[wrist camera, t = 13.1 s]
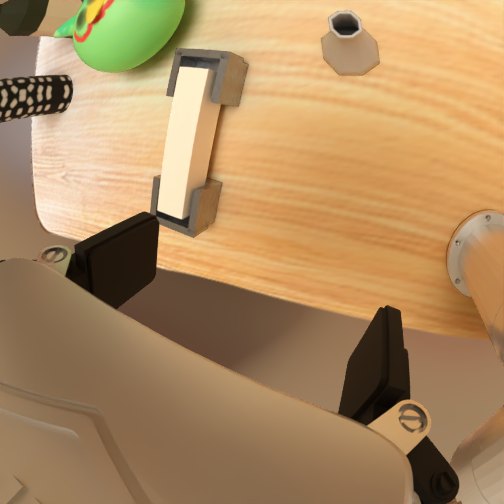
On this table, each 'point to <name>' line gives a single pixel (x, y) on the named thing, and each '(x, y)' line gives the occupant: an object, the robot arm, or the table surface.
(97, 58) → the toy bird
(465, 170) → the table surface
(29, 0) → the wine bottle
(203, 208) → the bracket
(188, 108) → the rail
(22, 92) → the white-spotted black cylinder
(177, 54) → the bracket
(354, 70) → the flask
